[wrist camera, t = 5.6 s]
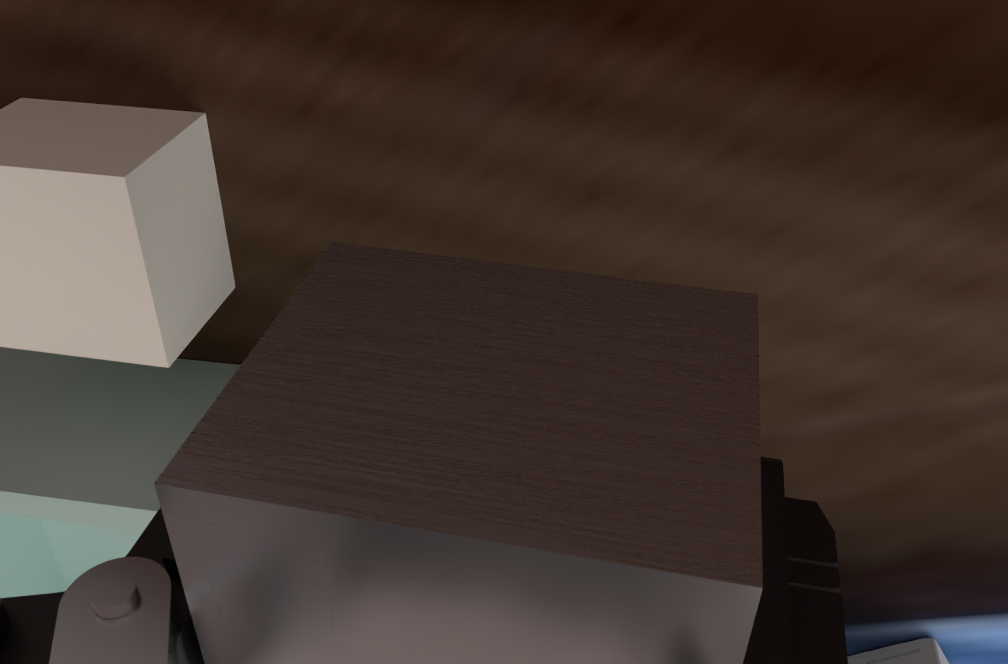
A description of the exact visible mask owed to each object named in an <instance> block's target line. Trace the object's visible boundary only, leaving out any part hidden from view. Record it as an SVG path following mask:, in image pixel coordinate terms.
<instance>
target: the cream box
mask: <svg viewBox="0 0 1008 664" xmlns="http://www.w3.org/2000/svg"><path fill="white" fill-rule="evenodd" d="M234 288H235V281H234V275H233V270H232V264H231V258H230V252H229V246H228V241H227V235H226V229H225V223H224V217H223V212H222V206H221V200H220V194H219V188H218V183H217V177H216V171H215V165H214V159H213V154H212V148H211V142H210V136H209V130H208V125H207V119H206V113H200V112H188V111H176V110H164V109H152V108H140V107H128V106H116V105H104V104H92V103H80V102H67V101H55V100H43V99H31V98H20V99H18V100H16V101H14V102H13V103H11V104H9V105H7V106H6V107H4V108H2V109H0V347H7V348H15V349H23V350H31V351H39V352H46V353H54V354H62V355H70V356H78V357H86V358H94V359H102V360H110V361H118V362H126V363H134V364H142V365H150V366H158V367H166V368H169V367H170V366H171V365H172V363H173V362H174V361H175V360H176V359H177V357H178V356H179V355H180V354H181V353H182V351H183V350H184V349H185V348H186V346H187V345H188V344H189V343H190V342H191V340H192V339H193V338H194V337H195V336H196V334H197V333H198V332H199V331H200V330H201V328H202V327H203V326H204V325H205V324H206V322H207V321H208V320H209V319H210V317H211V316H212V315H213V314H214V313H215V311H216V310H217V309H218V308H219V307H220V305H221V304H222V303H223V302H224V301H225V299H226V298H227V297H228V296H229V295H230V293H231V292H232V291H233V290H234Z"/></svg>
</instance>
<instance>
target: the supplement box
mask: <svg viewBox="0 0 1008 664" xmlns="http://www.w3.org/2000/svg"><path fill="white" fill-rule="evenodd" d="M847 658H848V664H949V662H948V661H947V659H946V657H945V655H944V654H943V652H942V650H941V648H940V647H939V645H938V643H937V641H936V640H935V639H932V638H922V639H917V640H914V641H910V642H905V643H900V644H896V645H892V646H887V647H884V648H880V649H876V650H872V651H868V652H863V653H860V654H856V655H852V656H847Z"/></svg>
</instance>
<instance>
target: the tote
mask: <svg viewBox="0 0 1008 664" xmlns="http://www.w3.org/2000/svg"><path fill="white" fill-rule="evenodd" d="M239 367H240V365H237V364H227V363H217V362H207V361H197V360H188V359H178V358H177V359H176V360H175V361H174V362H173V363H172V365H171V366H170V367H169V368H166V367H158V366H150V365H142V364H134V363H126V362H118V361H110V360H102V359H94V358H86V357H78V356H70V355H62V354H54V353H46V352H39V351H31V350H23V349H15V348H7V347H0V597H1V598H8V597H18V596H27V595H37V594H47V593H56V592H63V591H66V590H67V589H68V587H69V586H70V585H71V584H72V583H73V582H74V581H75V580H76V579H77V578H78V577H79V576H80V575H82V574H83V573H84V572H86V571H87V570H89V569H91V568H92V567H94V566H96V565H98V564H101V563H103V562H106V561H109V560H112V559H116V558H122V557H125V556H126V555H127V554H128V553H129V551H130V550H131V548H132V547H133V545H134V544H135V543H136V541H137V540H138V538H139V537H140V536H141V534H142V533H143V531H144V530H145V528H146V527H147V526H148V524H149V523H150V521H151V520H152V519H153V517H154V516H155V514H156V513H157V511H158V510H159V509H160V507H161V506H160V503H159V499H158V496H157V492H156V489H155V485H154V483H155V481H156V480H157V479H158V477H159V476H160V475H161V473H162V472H163V470H164V469H165V468H166V466H167V465H168V464H169V462H170V461H171V460H172V458H173V457H174V455H175V454H176V453H177V451H178V450H179V449H180V447H181V446H182V445H183V443H184V442H185V440H186V439H187V438H188V436H189V435H190V434H191V432H192V431H193V430H194V428H195V427H196V425H197V424H198V423H199V421H200V420H201V419H202V417H203V416H204V415H205V413H206V412H207V410H208V409H209V408H210V406H211V405H212V404H213V402H214V401H215V400H216V398H217V397H218V395H219V394H220V393H221V391H222V390H223V389H224V387H225V386H226V385H227V383H228V382H229V380H230V379H231V378H232V376H233V375H234V374H235V372H236V371H237V370H238V368H239Z"/></svg>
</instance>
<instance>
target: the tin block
mask: <svg viewBox="0 0 1008 664" xmlns="http://www.w3.org/2000/svg"><path fill="white" fill-rule="evenodd" d="M154 485H155V489H156V492H157V496H158V499H159V503H160V506H161V510H162V514H163V517H164V521H165V524H166V528H167V531H168V535H169V539H170V542H171V546H172V549H173V553H174V556H175V560H176V563H177V567H178V571H179V574H180V578H181V581H182V585H183V588H184V592H185V595H186V599H187V603H188V606H189V610H190V613H191V617H192V620H193V624H194V628H195V631H196V635H197V638H198V642H199V645H200V649H201V652H202V656H203V660H204V663H205V664H743V661H744V657H745V653H746V650H747V646H748V642H749V638H750V634H751V631H752V627H753V623H754V619H755V616H756V612H757V608H758V604H759V601H760V597H761V593H762V589H763V572H762V514H761V456H760V398H759V339H758V295H757V294H749V293H741V292H733V291H725V290H716V289H708V288H700V287H692V286H684V285H676V284H667V283H659V282H651V281H643V280H635V279H627V278H619V277H610V276H602V275H594V274H586V273H578V272H570V271H561V270H553V269H545V268H537V267H529V266H521V265H512V264H504V263H496V262H488V261H480V260H472V259H464V258H455V257H447V256H439V255H431V254H423V253H415V252H406V251H398V250H390V249H382V248H374V247H366V246H357V245H349V244H341V243H333V242H331V243H330V244H329V246H328V247H327V248H326V250H325V251H324V252H323V254H322V255H321V256H320V258H319V259H318V261H317V262H316V263H315V265H314V266H313V267H312V269H311V270H310V271H309V273H308V274H307V276H306V277H305V278H304V280H303V281H302V282H301V284H300V285H299V286H298V288H297V289H296V291H295V292H294V293H293V295H292V296H291V297H290V299H289V300H288V301H287V303H286V304H285V306H284V307H283V308H282V310H281V311H280V312H279V314H278V315H277V316H276V318H275V319H274V321H273V322H272V323H271V325H270V326H269V327H268V329H267V330H266V331H265V333H264V334H263V336H262V337H261V338H260V340H259V341H258V342H257V344H256V345H255V346H254V348H253V349H252V350H251V352H250V353H249V355H248V356H247V357H246V359H245V360H244V361H243V363H242V364H241V365H240V367H239V368H238V370H237V371H236V372H235V374H234V375H233V376H232V378H231V379H230V380H229V382H228V383H227V385H226V386H225V387H224V389H223V390H222V391H221V393H220V394H219V395H218V397H217V398H216V400H215V401H214V402H213V404H212V405H211V406H210V408H209V409H208V410H207V412H206V413H205V415H204V416H203V417H202V419H201V420H200V421H199V423H198V424H197V425H196V427H195V428H194V430H193V431H192V432H191V434H190V435H189V436H188V438H187V439H186V440H185V442H184V443H183V445H182V446H181V447H180V449H179V450H178V451H177V453H176V454H175V455H174V457H173V458H172V460H171V461H170V462H169V464H168V465H167V466H166V468H165V469H164V470H163V472H162V473H161V475H160V476H159V477H158V479H157V480H156V481H155V483H154Z"/></svg>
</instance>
